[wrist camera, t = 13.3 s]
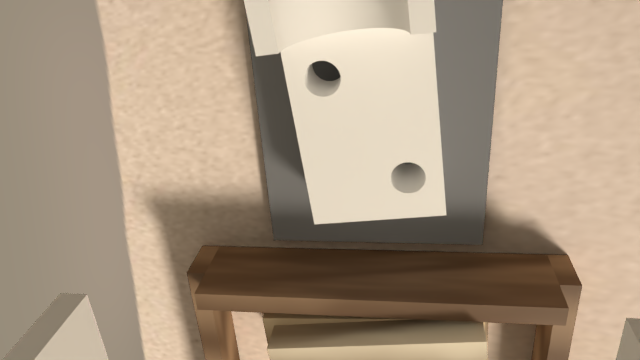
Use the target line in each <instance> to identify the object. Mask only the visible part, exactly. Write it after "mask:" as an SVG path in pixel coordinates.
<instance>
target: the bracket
mask: <svg viewBox="0 0 640 360" xmlns="http://www.w3.org/2000/svg"><path fill="white" fill-rule="evenodd" d="M244 4H245V9H246V13H247V18H248V23H249V27H250V32H251V36H252V41H253V45H254V50H255V55H256V56H263V55H271V54H278V53H281V58H282V63H283V68H284V73H285V78H286V83H287V88H288V93H289V98H290V103H291V108H292V114H293V119H294V124H295V129H296V134H297V139H298V144H299V149H300V154H301V159H302V164H303V169H304V174H305V179H306V184H307V189H308V195H309V200H310V205H311V210H312V215H313V220H314V224H328V223H342V222H357V221H371V220H386V219H400V218H415V217H429V216H444V215H446V202H445V188H444V174H443V160H442V147H441V133H440V119H439V105H438V91H437V77H436V64H435V50H434V36H433V33H434V32H436V19H435V5H434V0H244ZM316 61H327V62H330V63H332V64H333V65H334V66H335V67H336V68H337V69H338V71H339V73H340V78H338V79H337V80H334V81H325V80H323V79H321V78H319V77H318V76H317V75H316V74H315V72H314V70H313V67H312V63H314V62H316ZM406 162H410V163H412V164H403V163H406Z"/></svg>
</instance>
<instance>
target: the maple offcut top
mask: <svg viewBox="0 0 640 360" xmlns="http://www.w3.org/2000/svg"><path fill="white" fill-rule="evenodd" d="M267 351H268V355H269V358H270V360H488V354H487V340H486V335H485V329H484V324H483V322H468V321H445V320H422V319H411V320H388V321H364V322H341V323H317V324H294V325H274V328H273V331H272V334H271V337H270V341H269V344H268V347H267Z"/></svg>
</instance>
